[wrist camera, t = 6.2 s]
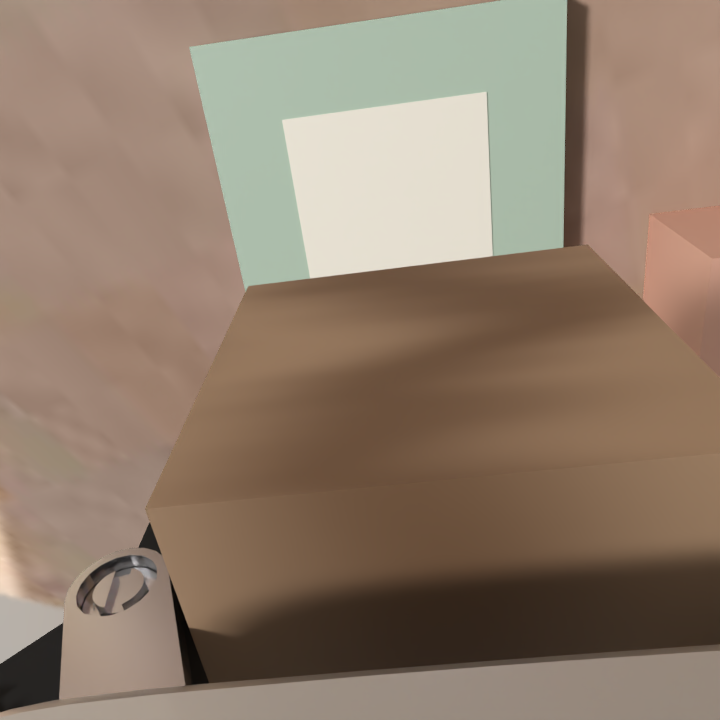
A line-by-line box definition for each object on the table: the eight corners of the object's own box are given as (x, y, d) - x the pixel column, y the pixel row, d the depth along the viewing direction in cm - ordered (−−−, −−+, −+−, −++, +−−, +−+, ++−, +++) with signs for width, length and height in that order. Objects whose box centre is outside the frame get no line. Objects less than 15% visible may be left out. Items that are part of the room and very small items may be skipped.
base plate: (559, -9, 24) (567, -10, 23) (555, 328, 31) (562, 339, 29) (197, 46, 25) (188, 47, 24) (267, 358, 32) (263, 370, 31)
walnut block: (587, 244, 11) (788, 446, 6) (579, 511, 14) (709, 815, 9) (248, 285, 12) (144, 509, 6) (305, 537, 14) (267, 841, 9)
